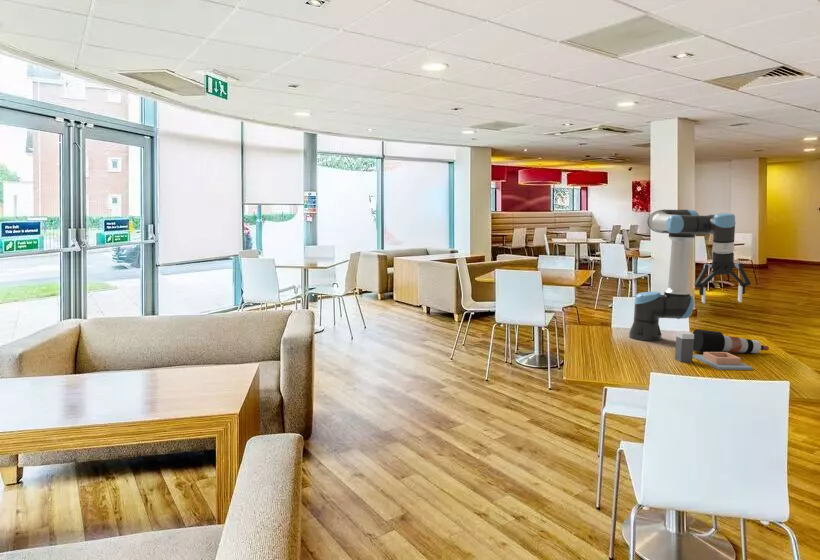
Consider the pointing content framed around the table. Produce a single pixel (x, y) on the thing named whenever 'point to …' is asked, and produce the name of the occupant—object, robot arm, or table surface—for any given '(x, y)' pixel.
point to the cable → (724, 343)
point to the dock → (722, 361)
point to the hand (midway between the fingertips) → (721, 302)
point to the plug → (684, 346)
